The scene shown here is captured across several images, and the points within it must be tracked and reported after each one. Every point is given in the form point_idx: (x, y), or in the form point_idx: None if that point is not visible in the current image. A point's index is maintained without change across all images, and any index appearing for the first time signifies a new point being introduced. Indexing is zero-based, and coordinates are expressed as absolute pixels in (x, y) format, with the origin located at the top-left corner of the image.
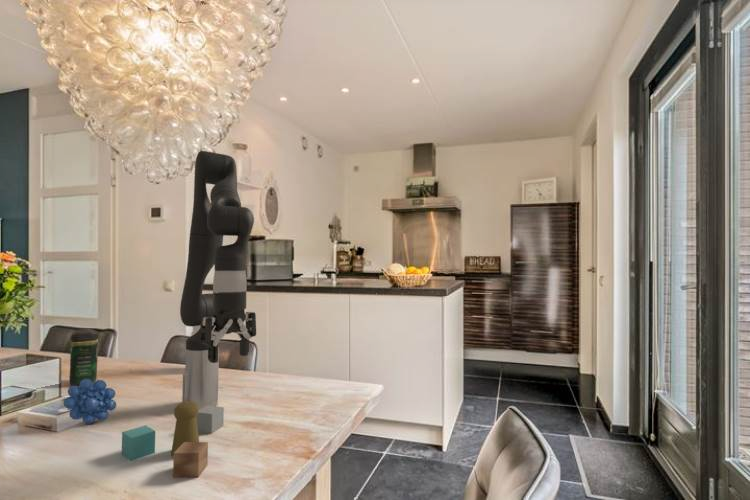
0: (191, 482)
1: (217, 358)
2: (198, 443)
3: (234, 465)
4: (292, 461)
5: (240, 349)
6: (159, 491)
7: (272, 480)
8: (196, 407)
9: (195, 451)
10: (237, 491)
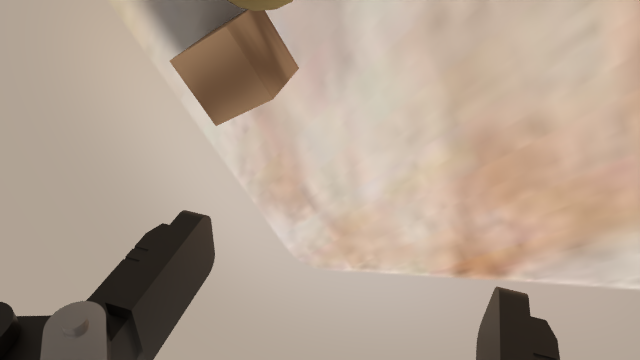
0: None
1: (196, 284)
2: (248, 79)
3: (337, 135)
4: (425, 247)
5: (497, 332)
6: (158, 59)
7: (331, 243)
8: (273, 6)
9: (214, 112)
10: (262, 205)
